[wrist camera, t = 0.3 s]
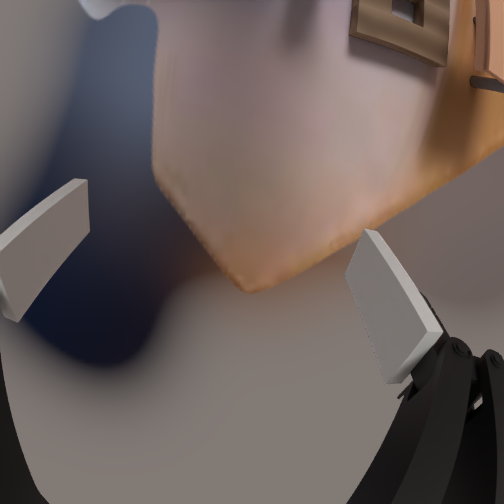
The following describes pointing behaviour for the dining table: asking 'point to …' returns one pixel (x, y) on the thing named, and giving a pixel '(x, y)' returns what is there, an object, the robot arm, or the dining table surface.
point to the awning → (489, 45)
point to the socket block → (405, 28)
